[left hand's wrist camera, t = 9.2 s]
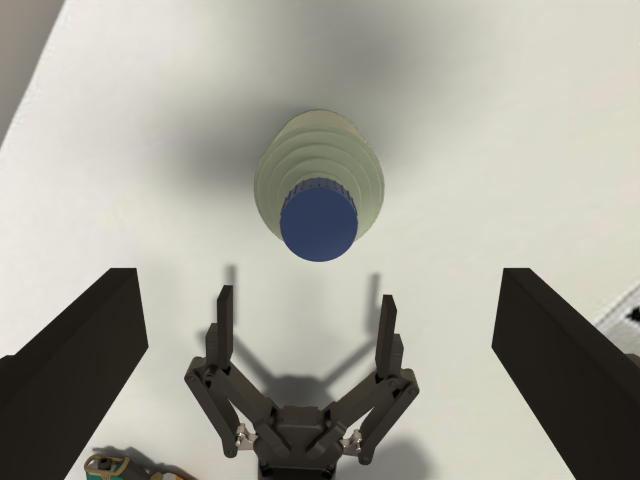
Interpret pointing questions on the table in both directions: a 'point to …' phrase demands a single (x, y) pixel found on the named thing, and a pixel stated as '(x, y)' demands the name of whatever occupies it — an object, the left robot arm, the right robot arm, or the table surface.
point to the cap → (318, 220)
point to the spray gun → (120, 470)
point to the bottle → (319, 166)
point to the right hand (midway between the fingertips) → (307, 296)
